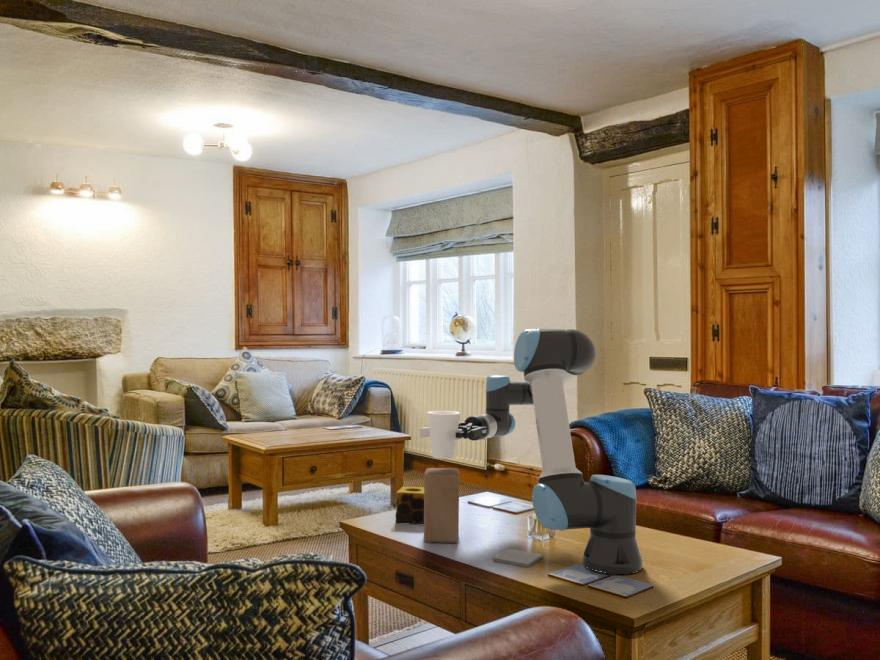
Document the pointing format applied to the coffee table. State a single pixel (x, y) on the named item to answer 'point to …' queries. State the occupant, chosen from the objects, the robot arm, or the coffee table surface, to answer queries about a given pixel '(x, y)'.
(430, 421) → the foam cup
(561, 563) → the coffee table surface
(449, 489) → the block
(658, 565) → the coffee table surface
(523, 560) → the slate coaster
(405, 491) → the giraffe print tissue box
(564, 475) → the robot arm
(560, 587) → the coffee table surface
